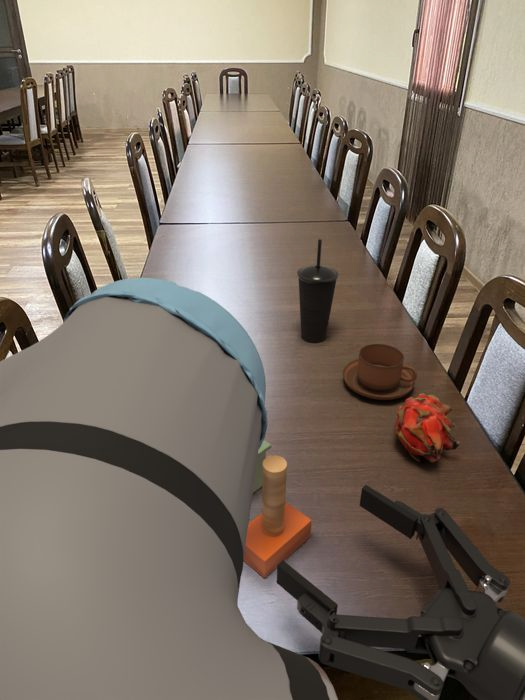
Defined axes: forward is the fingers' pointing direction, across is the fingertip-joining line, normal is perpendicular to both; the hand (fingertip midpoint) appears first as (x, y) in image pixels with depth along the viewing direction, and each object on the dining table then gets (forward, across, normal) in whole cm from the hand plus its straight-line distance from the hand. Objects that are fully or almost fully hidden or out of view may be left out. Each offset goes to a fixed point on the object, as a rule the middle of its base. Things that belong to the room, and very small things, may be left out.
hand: (323, 530), depth 55 cm
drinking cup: (+35, +42, -8) cm, 55 cm away
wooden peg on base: (+7, 0, -8) cm, 11 cm away
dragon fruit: (+3, +28, -8) cm, 29 cm away
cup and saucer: (+17, +36, -8) cm, 41 cm away
